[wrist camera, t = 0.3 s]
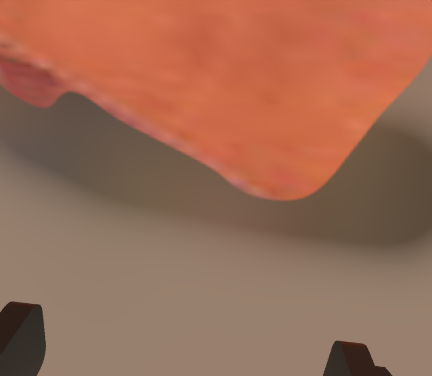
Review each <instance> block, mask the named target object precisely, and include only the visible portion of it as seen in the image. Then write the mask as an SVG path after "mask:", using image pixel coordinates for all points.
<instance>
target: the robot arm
mask: <svg viewBox="0 0 432 376" xmlns="http://www.w3.org/2000/svg"><path fill="white" fill-rule="evenodd" d="M45 351H46V342H45V332H44V321H43V312H42V307H41V306H40V305H38V304H29V303H21V302H9V303H8V304H7V305H6V306H5V307H4V308H3V309H2V311H1V312H0V376H37V374H38V372H39V370H40V368H41V366H42V363H43V360H44V356H45ZM323 376H392V375H391V374H390V372H389V371H388V370H387V369H386V368H385V367H379V366H375V365H374V363H373V360H372V358H371V355H370V352H369V350H368V348H367V346H366V345H364V344H361V343H353V342H344V341H335V342H334V344H333V346H332V349H331V352H330V355H329V359H328V362H327V365H326V368H325V371H324V374H323Z"/></svg>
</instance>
